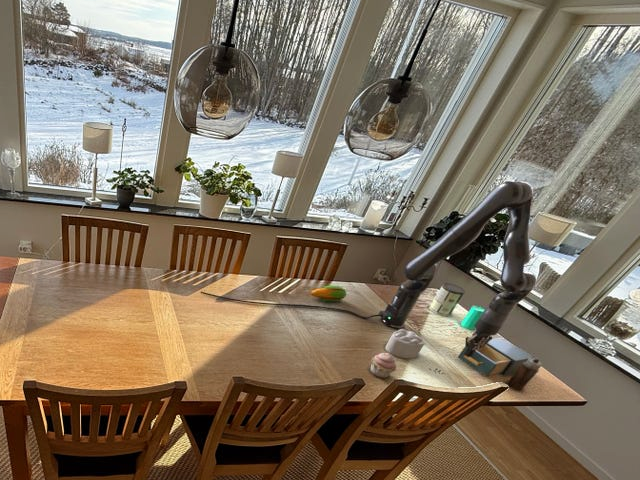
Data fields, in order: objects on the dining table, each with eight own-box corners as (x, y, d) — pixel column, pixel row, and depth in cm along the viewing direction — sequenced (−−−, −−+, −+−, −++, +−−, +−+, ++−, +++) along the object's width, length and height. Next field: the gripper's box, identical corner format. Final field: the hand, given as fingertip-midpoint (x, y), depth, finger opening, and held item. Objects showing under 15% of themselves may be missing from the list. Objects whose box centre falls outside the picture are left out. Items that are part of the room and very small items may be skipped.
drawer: (479, 378, 162) (489, 365, 159) (451, 358, 172) (459, 345, 169) (503, 373, 168) (513, 361, 164) (475, 354, 178) (483, 342, 174)
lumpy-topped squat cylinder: (420, 357, 171) (430, 341, 166) (395, 358, 168) (405, 342, 163) (403, 343, 179) (412, 327, 174) (379, 344, 176) (388, 328, 171)
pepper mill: (516, 391, 159) (540, 364, 151) (503, 382, 163) (526, 355, 155) (524, 389, 161) (548, 362, 153) (512, 381, 165) (534, 354, 157)
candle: (476, 330, 198) (490, 310, 191) (463, 328, 198) (477, 307, 192) (470, 324, 203) (484, 304, 196) (458, 321, 203) (471, 301, 197)
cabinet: (503, 376, 167) (515, 360, 163) (471, 355, 178) (482, 340, 174) (521, 372, 171) (534, 357, 167) (489, 352, 182) (500, 337, 178)
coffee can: (440, 306, 216) (454, 283, 208) (454, 316, 208) (470, 293, 200) (424, 305, 214) (438, 282, 206) (438, 316, 206) (453, 292, 198)
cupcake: (364, 362, 163) (375, 343, 157) (388, 369, 161) (399, 349, 155) (367, 376, 155) (378, 356, 149) (392, 383, 153) (405, 363, 148)
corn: (352, 290, 200) (317, 289, 196) (347, 303, 204) (312, 303, 200) (344, 284, 207) (309, 283, 202) (339, 297, 210) (305, 296, 206)
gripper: (489, 327, 147) (464, 363, 156) (512, 324, 151) (486, 359, 161) (471, 316, 152) (447, 351, 162) (493, 313, 157) (469, 348, 166)
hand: (467, 355), depth 161 cm, fingers closed
